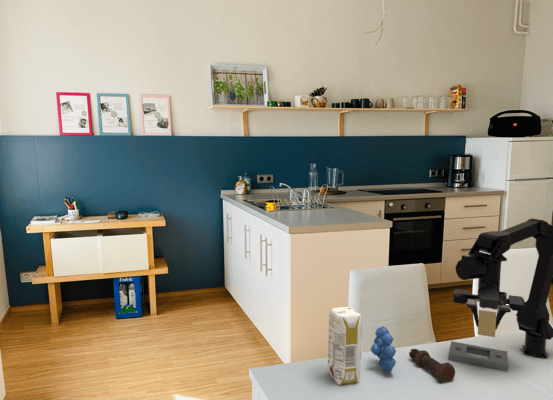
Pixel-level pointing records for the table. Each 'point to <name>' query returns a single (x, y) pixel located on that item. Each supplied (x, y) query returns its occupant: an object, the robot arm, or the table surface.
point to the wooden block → (487, 323)
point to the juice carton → (344, 345)
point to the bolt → (433, 365)
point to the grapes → (384, 349)
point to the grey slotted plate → (495, 362)
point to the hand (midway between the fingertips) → (486, 327)
